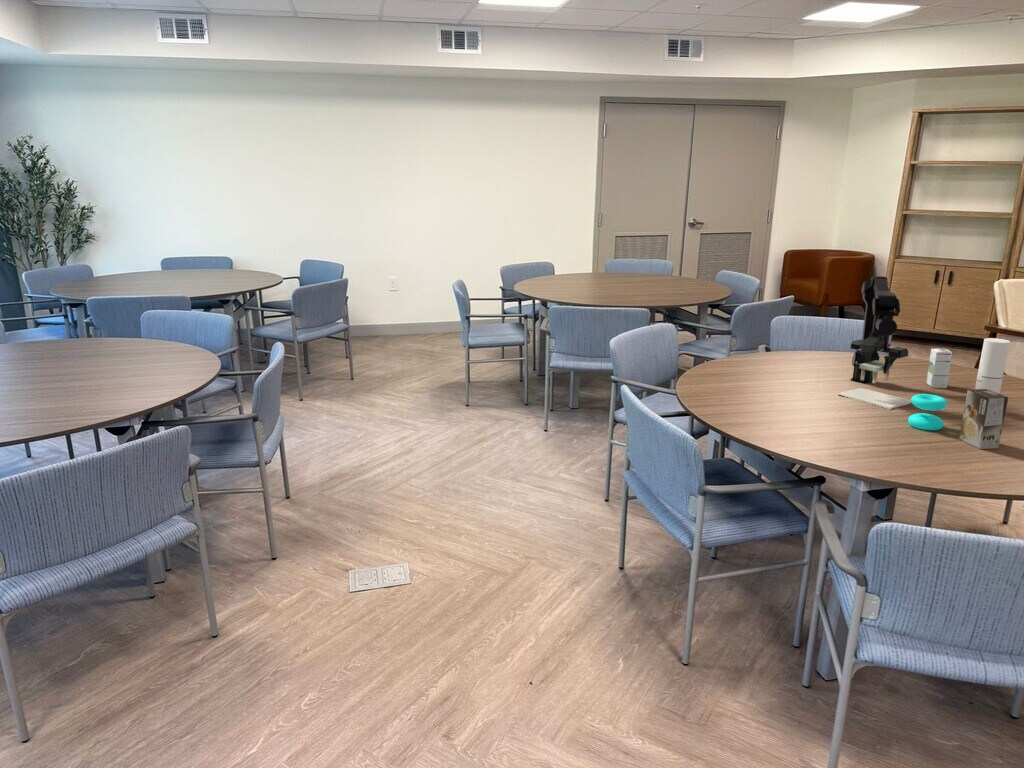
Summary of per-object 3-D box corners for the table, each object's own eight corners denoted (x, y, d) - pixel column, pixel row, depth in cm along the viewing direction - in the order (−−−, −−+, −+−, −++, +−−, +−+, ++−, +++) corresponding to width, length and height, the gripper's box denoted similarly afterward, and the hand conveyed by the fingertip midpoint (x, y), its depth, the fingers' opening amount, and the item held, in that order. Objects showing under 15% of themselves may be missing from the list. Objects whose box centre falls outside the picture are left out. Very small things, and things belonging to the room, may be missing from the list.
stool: (873, 375, 252) (875, 360, 250) (890, 379, 247) (893, 364, 245) (857, 380, 247) (859, 364, 246) (874, 384, 242) (876, 368, 240)
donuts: (954, 401, 212) (922, 402, 212) (949, 431, 215) (917, 431, 215) (936, 392, 222) (905, 392, 222) (931, 421, 224) (901, 421, 225)
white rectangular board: (837, 395, 253) (838, 393, 253) (860, 389, 260) (860, 387, 260) (889, 409, 236) (890, 407, 236) (912, 402, 243) (912, 400, 243)
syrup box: (947, 388, 260) (953, 351, 256) (930, 387, 261) (936, 351, 257) (941, 384, 265) (947, 348, 261) (924, 383, 267) (930, 348, 263)
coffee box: (999, 448, 201) (1010, 397, 196) (979, 449, 200) (989, 398, 196) (976, 437, 209) (986, 388, 205) (957, 438, 209) (966, 389, 204)
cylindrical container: (988, 414, 230) (1002, 343, 223) (966, 409, 236) (979, 339, 229) (1000, 411, 233) (1014, 341, 226) (978, 406, 239) (991, 337, 232)
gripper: (843, 327, 245) (838, 369, 250) (894, 337, 230) (887, 380, 235) (862, 324, 251) (856, 364, 255) (912, 333, 236) (905, 375, 240)
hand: (875, 371), depth 246 cm, fingers closed on stool, 6 cm apart
